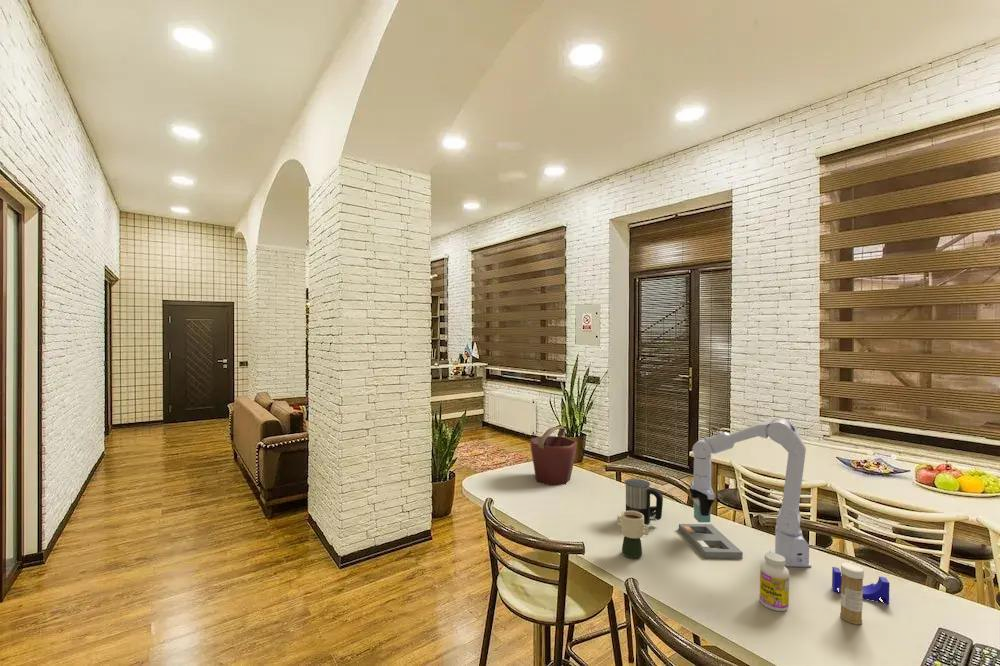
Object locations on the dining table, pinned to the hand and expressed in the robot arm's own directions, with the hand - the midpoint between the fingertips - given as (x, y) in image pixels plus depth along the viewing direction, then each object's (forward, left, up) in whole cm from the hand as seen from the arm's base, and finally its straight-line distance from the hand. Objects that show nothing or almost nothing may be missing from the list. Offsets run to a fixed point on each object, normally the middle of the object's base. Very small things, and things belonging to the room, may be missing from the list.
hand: (701, 512), depth 161 cm
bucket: (+58, +45, -8) cm, 74 cm away
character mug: (-15, +29, -8) cm, 34 cm away
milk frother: (+14, +16, -9) cm, 23 cm away
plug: (0, 0, -3) cm, 3 cm away
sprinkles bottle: (-47, -17, -8) cm, 50 cm away
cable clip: (-35, -28, -9) cm, 46 cm away
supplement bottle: (-41, -1, -8) cm, 41 cm away
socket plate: (-6, 0, -8) cm, 10 cm away
